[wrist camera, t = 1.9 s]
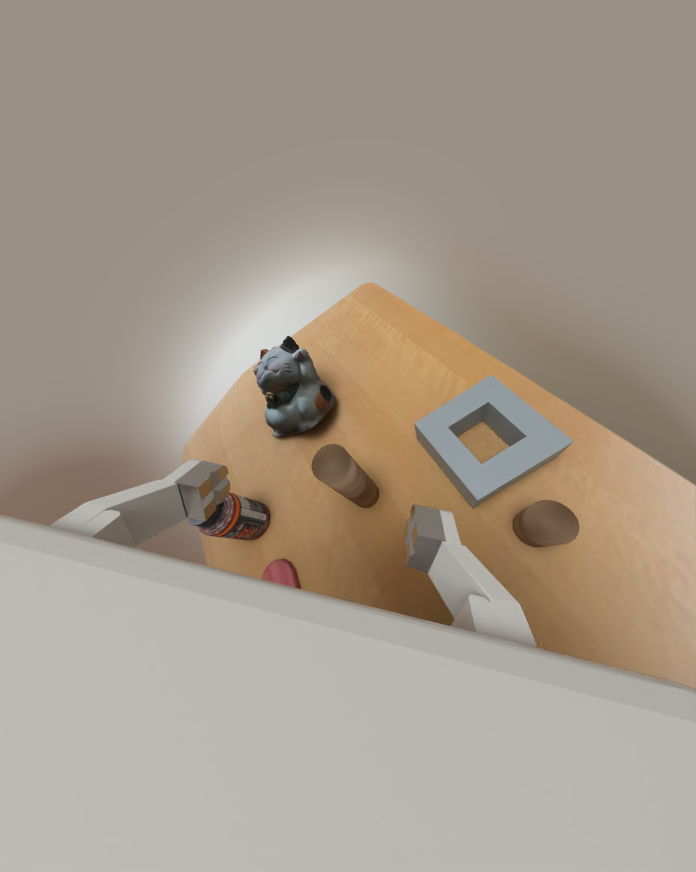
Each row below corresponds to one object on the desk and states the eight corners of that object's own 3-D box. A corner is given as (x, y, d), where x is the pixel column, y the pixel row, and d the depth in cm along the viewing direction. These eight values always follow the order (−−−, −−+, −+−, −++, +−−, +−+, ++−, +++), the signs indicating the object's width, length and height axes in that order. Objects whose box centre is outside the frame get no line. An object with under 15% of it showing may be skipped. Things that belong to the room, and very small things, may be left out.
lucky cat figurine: (261, 438, 48) (213, 373, 41) (299, 403, 55) (264, 343, 48) (316, 439, 38) (265, 355, 32) (353, 397, 46) (318, 321, 39)
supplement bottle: (245, 548, 39) (182, 544, 30) (235, 515, 42) (175, 503, 33) (276, 526, 39) (222, 515, 30) (264, 495, 42) (212, 476, 33)
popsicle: (279, 707, 28) (257, 568, 36) (286, 701, 30) (263, 568, 37) (320, 690, 28) (288, 552, 36) (325, 684, 29) (294, 553, 37)
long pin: (384, 498, 36) (355, 467, 24) (360, 513, 36) (320, 489, 24) (370, 475, 38) (338, 437, 26) (348, 489, 38) (306, 457, 26)
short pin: (563, 535, 28) (590, 529, 23) (531, 554, 28) (552, 552, 23) (533, 504, 30) (552, 492, 25) (504, 521, 30) (517, 513, 25)
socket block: (555, 457, 31) (573, 441, 27) (472, 508, 32) (477, 500, 27) (485, 395, 37) (491, 374, 33) (417, 438, 38) (414, 423, 34)
